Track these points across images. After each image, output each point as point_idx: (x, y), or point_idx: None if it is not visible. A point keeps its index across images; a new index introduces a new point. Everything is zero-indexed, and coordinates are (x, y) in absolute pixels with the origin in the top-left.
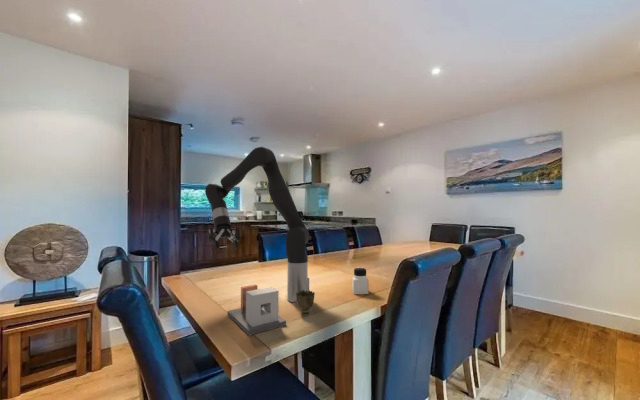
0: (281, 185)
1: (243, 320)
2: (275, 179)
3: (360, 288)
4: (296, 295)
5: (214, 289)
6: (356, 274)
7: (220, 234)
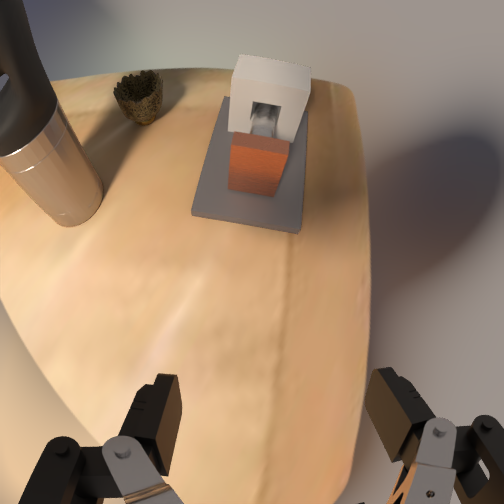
0: None
1: (295, 149)
2: None
3: None
4: (156, 93)
5: None
6: None
7: (426, 490)
